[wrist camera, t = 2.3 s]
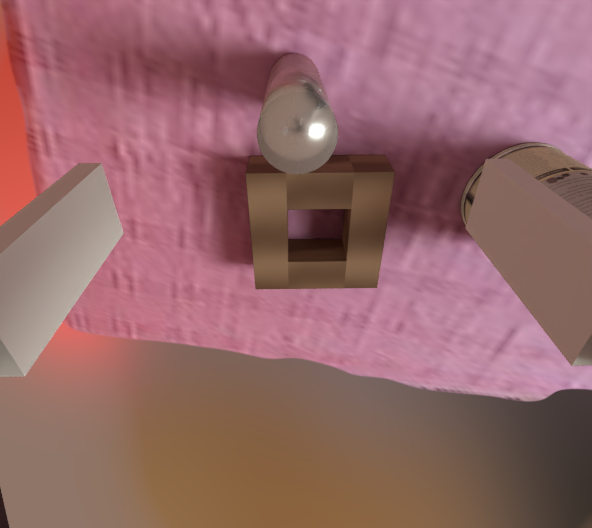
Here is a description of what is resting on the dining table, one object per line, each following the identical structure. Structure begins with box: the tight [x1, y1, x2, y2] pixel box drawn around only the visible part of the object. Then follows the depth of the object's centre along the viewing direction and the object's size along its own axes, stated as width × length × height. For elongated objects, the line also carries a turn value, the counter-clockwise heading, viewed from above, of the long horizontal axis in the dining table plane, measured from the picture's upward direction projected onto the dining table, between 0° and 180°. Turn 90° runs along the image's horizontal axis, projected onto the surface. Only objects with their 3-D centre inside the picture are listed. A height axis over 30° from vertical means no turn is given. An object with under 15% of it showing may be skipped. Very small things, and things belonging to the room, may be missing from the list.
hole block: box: [246, 155, 395, 289], centre depth 35 cm, size 12×12×4 cm
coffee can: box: [460, 143, 592, 225], centre depth 30 cm, size 10×10×14 cm
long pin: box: [257, 53, 338, 174], centre depth 24 cm, size 4×4×14 cm
